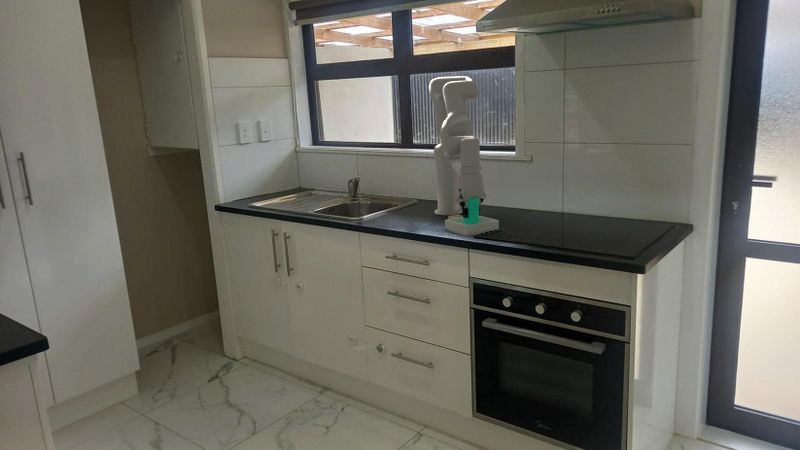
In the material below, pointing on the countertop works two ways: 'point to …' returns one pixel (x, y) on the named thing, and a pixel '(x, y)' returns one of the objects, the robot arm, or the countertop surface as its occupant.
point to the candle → (472, 211)
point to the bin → (471, 226)
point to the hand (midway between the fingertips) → (471, 216)
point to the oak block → (454, 216)
